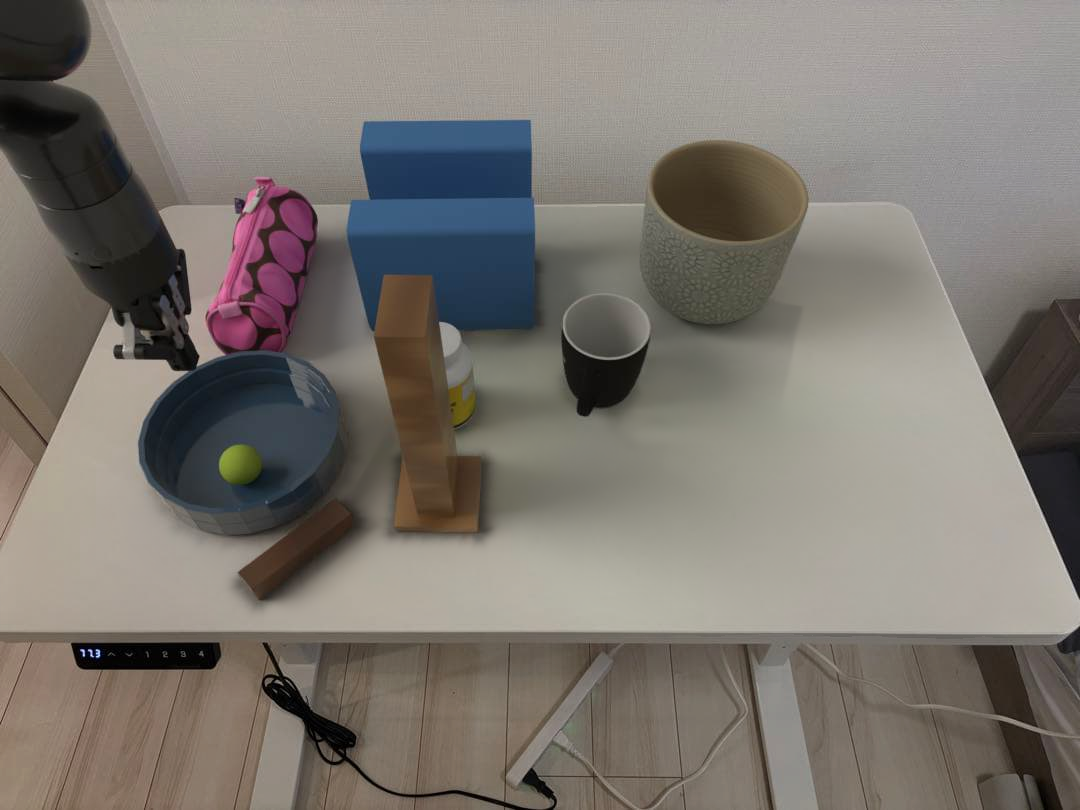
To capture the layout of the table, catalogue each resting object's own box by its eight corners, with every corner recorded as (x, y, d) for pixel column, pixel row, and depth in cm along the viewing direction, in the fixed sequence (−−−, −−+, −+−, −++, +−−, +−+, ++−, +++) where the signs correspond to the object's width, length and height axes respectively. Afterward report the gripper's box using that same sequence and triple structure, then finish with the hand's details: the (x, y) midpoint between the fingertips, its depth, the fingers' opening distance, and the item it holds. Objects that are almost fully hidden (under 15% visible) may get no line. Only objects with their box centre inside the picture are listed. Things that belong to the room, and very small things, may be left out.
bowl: (235, 575, 74) (218, 552, 70) (120, 460, 81) (98, 433, 77) (386, 445, 83) (379, 418, 79) (270, 351, 90) (258, 322, 86)
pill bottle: (403, 411, 85) (388, 342, 76) (445, 375, 88) (435, 304, 79) (447, 444, 83) (436, 377, 73) (488, 406, 86) (484, 336, 76)
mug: (573, 345, 91) (577, 283, 83) (649, 366, 89) (661, 305, 81) (538, 427, 84) (539, 368, 76) (619, 451, 83) (629, 394, 74)
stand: (395, 531, 77) (339, 347, 54) (404, 461, 82) (355, 264, 59) (477, 532, 77) (456, 348, 54) (481, 462, 82) (463, 265, 59)
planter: (782, 345, 91) (822, 246, 79) (635, 341, 91) (652, 242, 79) (762, 243, 101) (794, 140, 89) (629, 240, 101) (643, 137, 89)
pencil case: (248, 236, 101) (223, 172, 93) (325, 235, 101) (307, 170, 93) (214, 369, 88) (182, 307, 80) (302, 367, 89) (278, 305, 80)
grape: (242, 499, 78) (230, 479, 75) (218, 476, 80) (204, 455, 76) (275, 473, 80) (264, 452, 77) (250, 451, 81) (239, 429, 78)
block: (388, 242, 100) (364, 118, 86) (530, 240, 101) (530, 116, 86) (375, 353, 90) (345, 232, 75) (534, 350, 90) (535, 230, 76)
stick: (351, 513, 75) (355, 525, 77) (335, 497, 76) (340, 509, 78) (251, 590, 71) (259, 600, 73) (236, 572, 72) (244, 582, 74)
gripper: (87, 169, 65) (167, 312, 79) (26, 287, 57) (126, 422, 71) (180, 170, 65) (242, 313, 79) (131, 289, 57) (210, 423, 71)
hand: (187, 364), depth 75 cm, fingers closed
